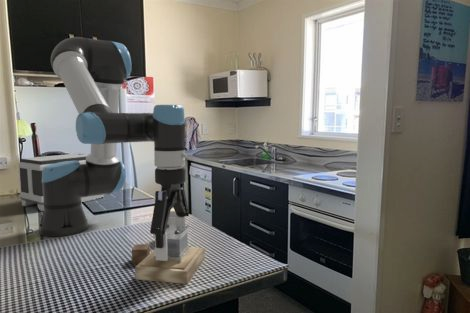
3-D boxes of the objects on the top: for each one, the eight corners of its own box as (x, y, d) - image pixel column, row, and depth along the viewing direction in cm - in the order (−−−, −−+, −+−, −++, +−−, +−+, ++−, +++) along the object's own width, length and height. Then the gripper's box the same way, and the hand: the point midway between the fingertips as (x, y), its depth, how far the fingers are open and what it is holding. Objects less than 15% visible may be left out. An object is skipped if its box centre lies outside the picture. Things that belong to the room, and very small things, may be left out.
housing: (180, 262, 86) (180, 233, 85) (153, 260, 87) (153, 231, 86) (189, 251, 93) (189, 224, 92) (164, 249, 94) (164, 223, 93)
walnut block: (132, 264, 93) (131, 249, 93) (135, 258, 97) (134, 244, 96) (147, 264, 93) (147, 249, 93) (149, 258, 97) (149, 244, 97)
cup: (163, 231, 119) (163, 208, 118) (187, 231, 120) (187, 208, 119) (159, 243, 109) (159, 217, 108) (185, 242, 109) (185, 217, 108)
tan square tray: (135, 279, 84) (135, 266, 84) (160, 255, 99) (159, 243, 98) (187, 283, 82) (187, 270, 81) (204, 258, 96) (204, 247, 96)
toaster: (112, 196, 172) (110, 154, 170) (42, 212, 144) (38, 161, 142) (89, 192, 183) (87, 152, 180) (19, 206, 154) (16, 158, 152)
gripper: (165, 175, 75) (167, 271, 77) (198, 161, 99) (199, 234, 101) (132, 174, 76) (135, 268, 78) (173, 160, 100) (175, 232, 103)
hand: (172, 249), depth 90 cm, fingers open, 13 cm apart
